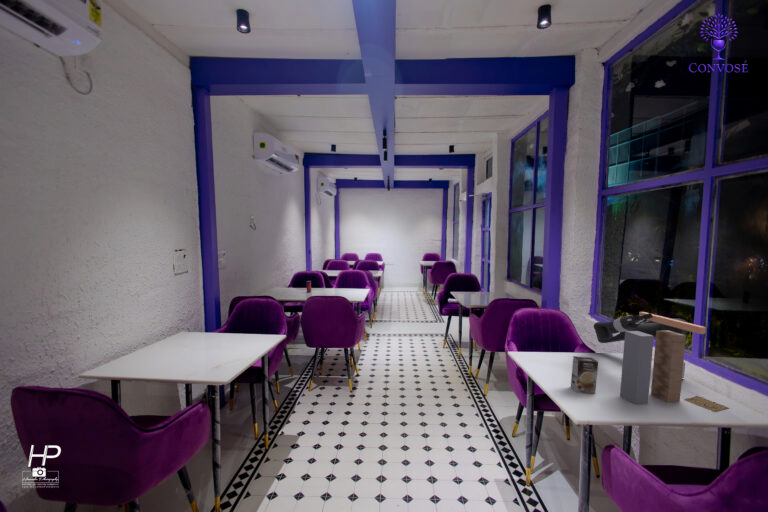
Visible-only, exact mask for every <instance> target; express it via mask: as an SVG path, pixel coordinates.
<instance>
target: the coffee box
mask: <svg viewBox="0 0 768 512" xmlns="http://www.w3.org/2000/svg"><path fill="white" fill-rule="evenodd" d="M571 368H572V369H571V378H570V387H571V389H572V390H574V392H576V393H585V394H596V393H597V392H596V390H597V380H598V369H599V362H598V360H596V359H595V358H593V357H587V356H577V355H576V356H575V355H574V356H572V367H571Z"/></svg>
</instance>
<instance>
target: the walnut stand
mask: <svg viewBox="0 0 768 512" xmlns="http://www.w3.org/2000/svg"><path fill="white" fill-rule="evenodd" d="M686 338H687V334H684V335H683V334H680V333H676V332H672V331H669V330H659V331H656V337H655V344H654V354H653V368H652V377H651V387H650V388H651V389H650V390H651V391H650V394H651V395H652V396H654V397H656V398H658V399H659V400H663V401H664V402H666V403H674V402H681V393H682V391H681V390H682V383H683V382H682V372H683V361H684V360H685V352H684V350H685V349H686V340H687V339H686ZM685 351H686V350H685ZM684 362H685V361H684Z"/></svg>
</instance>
